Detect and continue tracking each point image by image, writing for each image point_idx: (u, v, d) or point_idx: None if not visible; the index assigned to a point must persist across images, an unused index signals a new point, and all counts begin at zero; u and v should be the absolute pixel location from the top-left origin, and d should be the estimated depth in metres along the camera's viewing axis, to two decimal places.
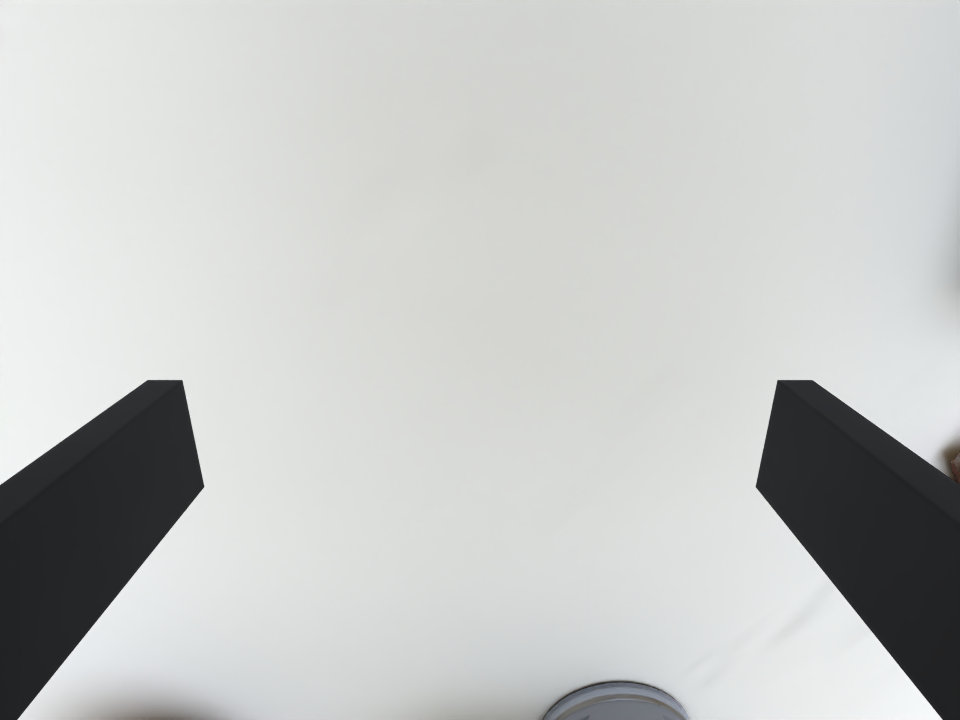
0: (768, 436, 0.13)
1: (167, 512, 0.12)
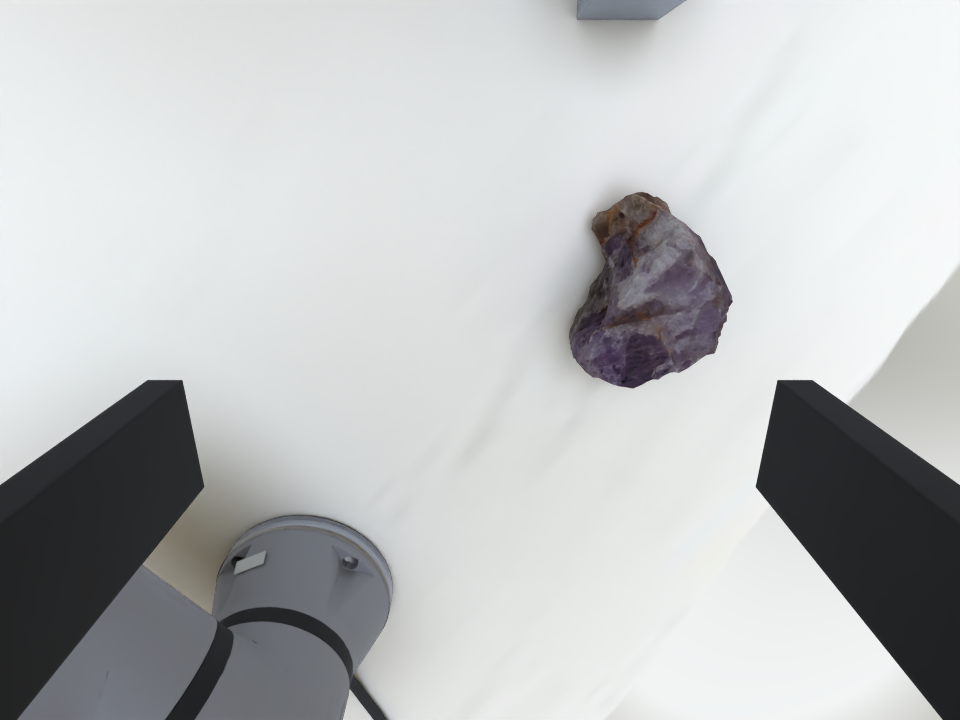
0: (768, 436, 0.13)
1: (167, 512, 0.12)
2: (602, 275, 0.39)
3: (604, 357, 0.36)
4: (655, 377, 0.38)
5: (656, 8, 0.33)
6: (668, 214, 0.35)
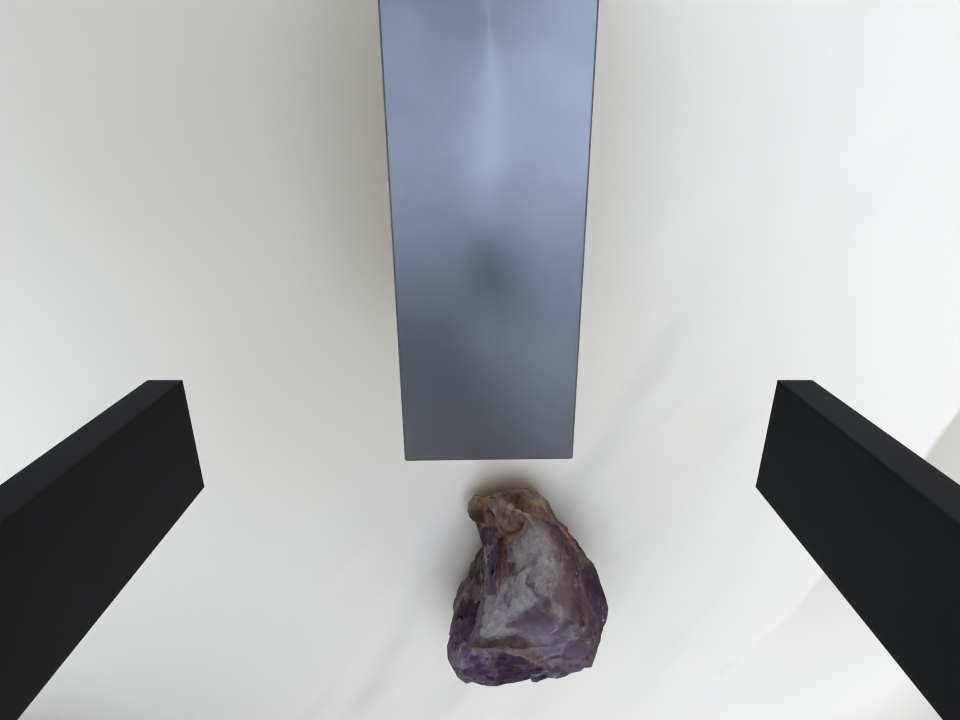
0: (767, 436, 0.13)
1: (167, 512, 0.12)
2: None
3: (473, 671, 0.34)
4: (533, 680, 0.35)
5: None
6: (535, 529, 0.32)
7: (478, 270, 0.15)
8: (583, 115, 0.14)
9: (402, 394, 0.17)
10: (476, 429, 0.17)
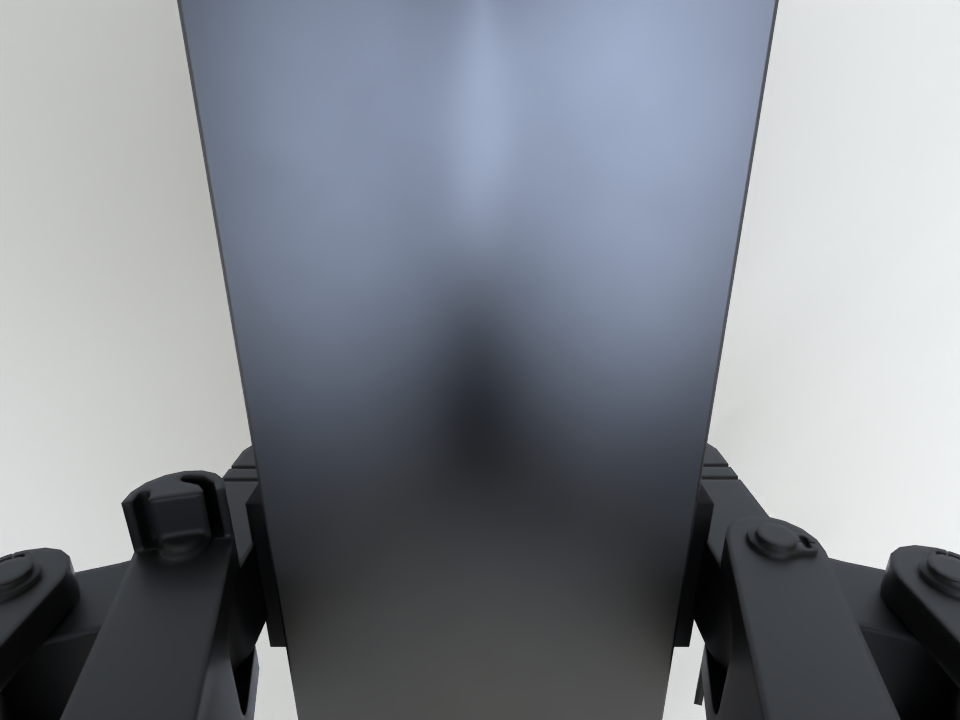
0: None
1: None
2: None
3: None
4: None
5: None
6: None
7: (455, 531, 0.07)
8: (724, 198, 0.05)
9: None
10: None
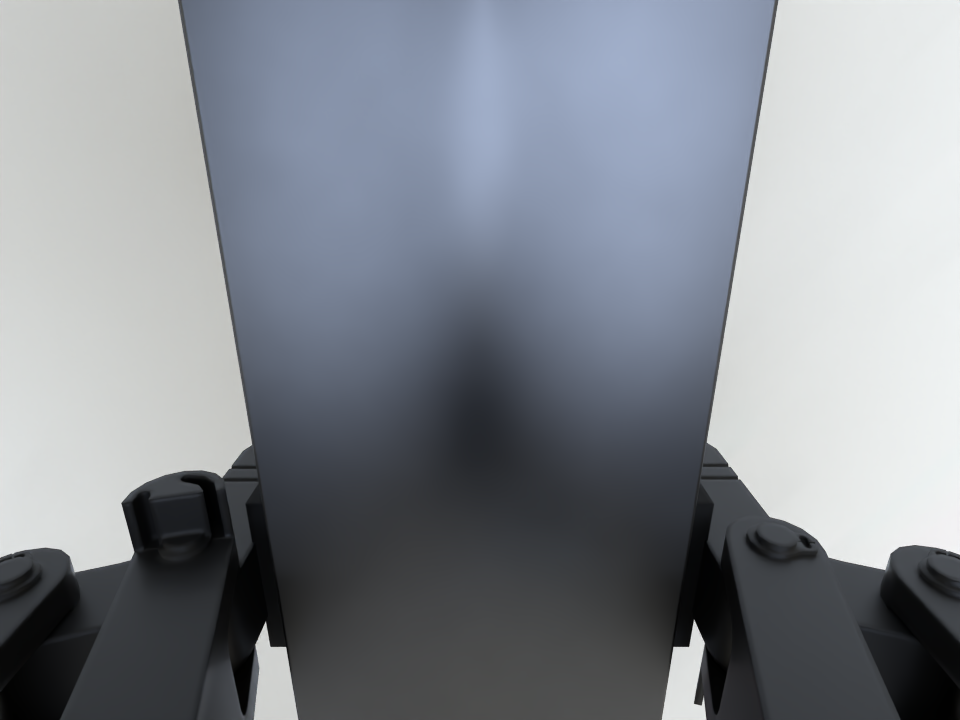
0: None
1: None
2: None
3: None
4: None
5: None
6: None
7: (455, 529, 0.07)
8: (724, 198, 0.05)
9: None
10: None
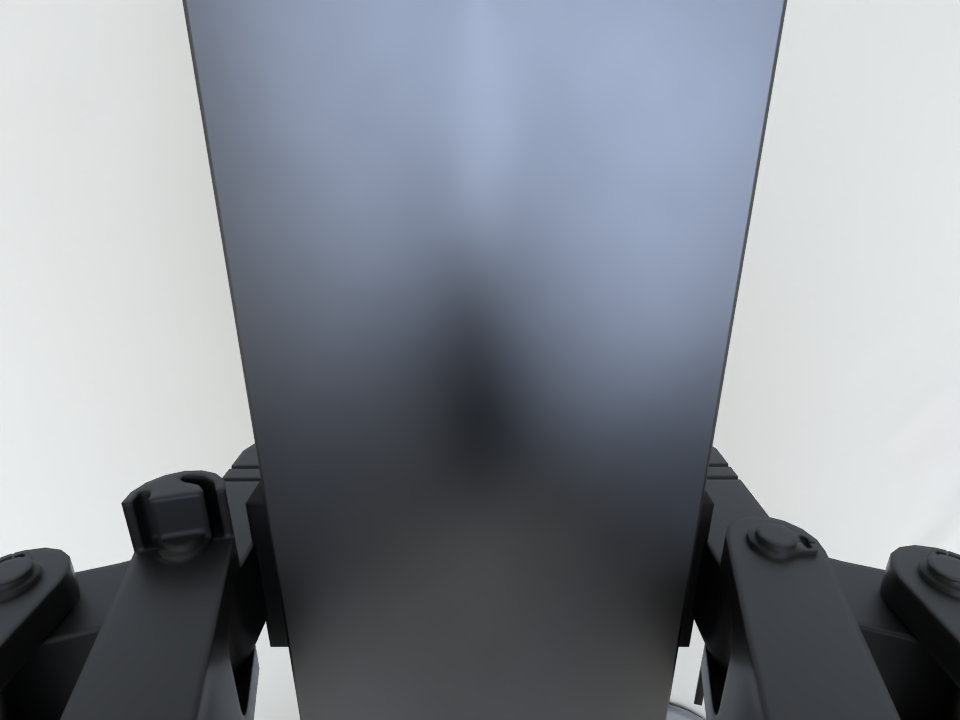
0: None
1: None
2: None
3: None
4: None
5: None
6: None
7: (459, 526, 0.07)
8: (733, 189, 0.05)
9: None
10: None
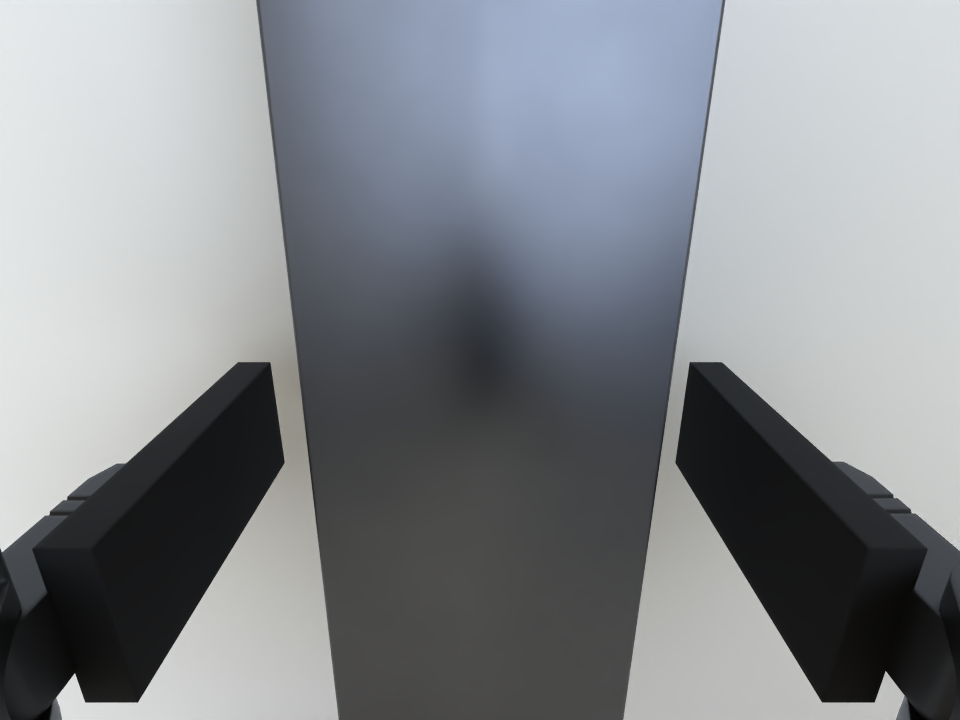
0: (684, 415, 0.14)
1: (260, 483, 0.13)
2: None
3: None
4: None
5: None
6: None
7: (465, 462, 0.08)
8: (680, 190, 0.07)
9: (332, 648, 0.10)
10: (458, 699, 0.10)
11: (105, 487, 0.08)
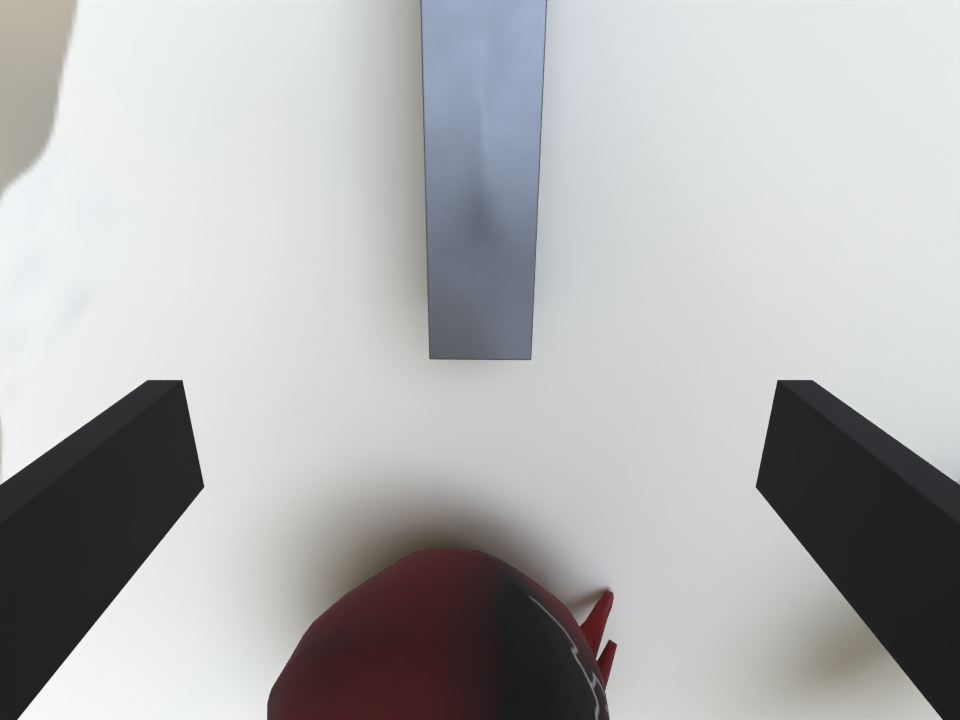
0: (768, 436, 0.13)
1: (168, 513, 0.12)
2: None
3: None
4: None
5: None
6: None
7: (475, 242, 0.27)
8: (535, 156, 0.25)
9: (429, 317, 0.28)
10: (472, 340, 0.28)
11: None
